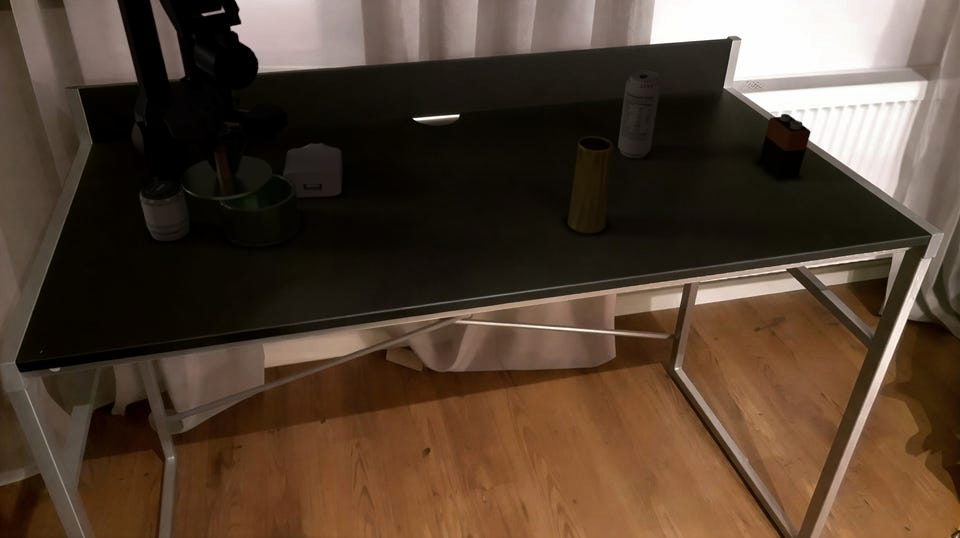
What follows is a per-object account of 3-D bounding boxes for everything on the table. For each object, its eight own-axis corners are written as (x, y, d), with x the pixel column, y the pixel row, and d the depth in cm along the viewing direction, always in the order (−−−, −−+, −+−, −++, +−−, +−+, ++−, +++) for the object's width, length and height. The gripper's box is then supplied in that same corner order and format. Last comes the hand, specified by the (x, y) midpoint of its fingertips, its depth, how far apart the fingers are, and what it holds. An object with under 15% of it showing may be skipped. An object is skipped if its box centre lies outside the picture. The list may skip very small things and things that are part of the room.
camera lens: (141, 240, 121) (129, 195, 117) (161, 219, 126) (150, 175, 122) (180, 244, 120) (169, 199, 116) (199, 223, 126) (189, 179, 121)
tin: (210, 241, 121) (202, 204, 118) (246, 204, 131) (240, 168, 127) (280, 252, 119) (274, 215, 115) (312, 214, 128) (308, 178, 125)
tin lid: (164, 197, 110) (156, 164, 107) (210, 157, 120) (204, 126, 117) (248, 209, 108) (242, 176, 105) (287, 167, 118) (283, 136, 115)
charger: (343, 155, 146) (341, 195, 133) (292, 156, 145) (285, 198, 132) (341, 131, 143) (339, 170, 131) (289, 132, 142) (282, 172, 130)
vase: (580, 237, 124) (589, 155, 116) (559, 219, 129) (567, 138, 120) (613, 228, 127) (624, 147, 118) (591, 210, 131) (600, 131, 123)
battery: (777, 180, 141) (791, 128, 135) (757, 162, 146) (769, 112, 140) (799, 177, 142) (813, 126, 136) (778, 160, 147) (791, 110, 141)
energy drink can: (654, 150, 150) (667, 73, 141) (642, 162, 146) (653, 84, 137) (625, 141, 152) (635, 66, 144) (612, 153, 148) (621, 76, 139)
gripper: (105, 81, 100) (134, 190, 109) (242, 96, 96) (261, 208, 105) (155, 51, 109) (178, 154, 117) (282, 64, 105) (296, 170, 114)
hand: (226, 171), depth 113 cm, fingers closed on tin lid, 2 cm apart
